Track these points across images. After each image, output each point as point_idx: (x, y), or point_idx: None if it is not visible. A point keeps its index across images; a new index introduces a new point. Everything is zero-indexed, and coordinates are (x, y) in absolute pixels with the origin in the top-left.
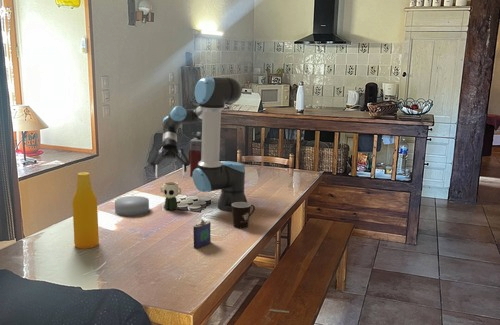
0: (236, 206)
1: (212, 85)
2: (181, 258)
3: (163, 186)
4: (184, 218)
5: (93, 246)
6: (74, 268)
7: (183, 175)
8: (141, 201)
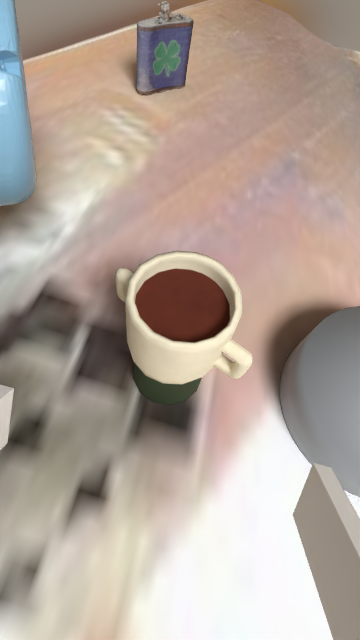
0: None
1: None
2: (221, 66)
3: (233, 342)
4: (144, 241)
5: None
6: None
7: (5, 389)
8: (342, 359)
